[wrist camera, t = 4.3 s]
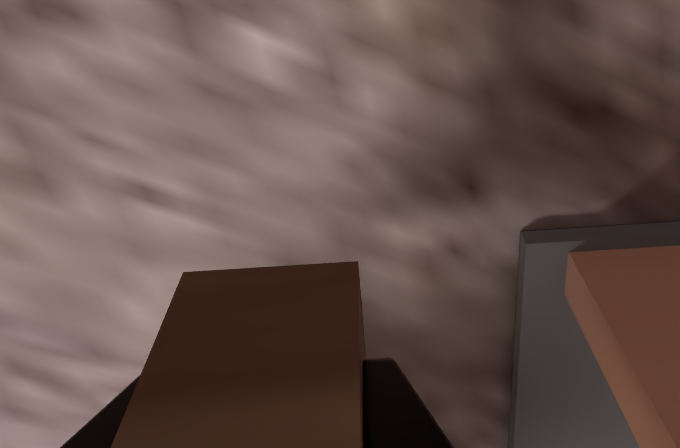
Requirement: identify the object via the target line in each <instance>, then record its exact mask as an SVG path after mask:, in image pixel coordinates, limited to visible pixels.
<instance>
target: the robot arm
mask: <svg viewBox="0 0 680 448" xmlns="http://www.w3.org/2000/svg"><path fill="white" fill-rule="evenodd" d="M140 376H141V375H140ZM140 376H139V377H137V378H136V379H135V380H134V381H133V382H132V383H131V384H130V385H129V386H128V387H126V388H125V389H124V390H123V391H122V392H121V393H120V394H119V395H118V396H117V397H115V398H114V399H113V400H112V401H111V402H110V403H109V404H108V405H107V406H105V407H104V408H103V409H102V410H101V411H100V412H99V413H98V414H97V415H96V416H94V417H93V418H92V419H91V420H90V421H89V422H88V423H87V424H86V425H85V426H83V427H82V428H81V429H80V430H79V431H78V432H77V433H76V434H75V435H74V436H72V437H71V438H70V439H69V440H68V441H67V442H66V443H65V444H64V445H63V446H61V447H60V448H111V446H112V443H113V441H114V438H115V436H116V434H117V431H118V429H119V426H120V424H121V421H122V419H123V417H124V414H125V412H126V409H127V407H128V405H129V402H130V400H131V397H132V395H133V392H134V390H135V388H136V385H137V383H138V380H139V378H140ZM363 446H364V448H454V447H453V446H452V444H451V443H450V441H449V440H448V439H447V437H446V436H445V434H444V433H443V431H442V430H441V428H440V427H439V425H438V424H437V422H436V421H435V419H434V418H433V416H432V415H431V413H430V412H429V411H428V409H427V408H426V406H425V405H424V403H423V402H422V400H421V399H420V397H419V396H418V394H417V393H416V391H415V390H414V388H413V387H412V385H411V384H410V382H409V381H408V380H407V378H406V377H405V375H404V374H403V372H402V371H401V369H400V368H399V366H398V365H397V363H396V362H395V361H394V360H393V359H391V358H378V359H365V360H363Z"/></svg>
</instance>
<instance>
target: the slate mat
mask: <svg viewBox="0 0 680 448" xmlns="http://www.w3.org/2000/svg"><path fill="white" fill-rule="evenodd" d="M678 245H680V221H676V222H660V223H645V224H629V225H614V226H598V227H582V228H567V229H551V230H536V231H520V247H519V265H518V282H517V300H516V318H515V336H514V354H513V372H512V389H511V407H510V425H509V443H508V448H640V447H639V445H638V443H637V441H636V439H635V437H634V435H633V433H632V431H631V429H630V427H629V425H628V422H627V420H626V418H625V416H624V414H623V412H622V410H621V408H620V406H619V404H618V402H617V400H616V398H615V396H614V394H613V392H612V390H611V388H610V386H609V384H608V382H607V380H606V378H605V376H604V374H603V372H602V370H601V368H600V366H599V364H598V362H597V360H596V358H595V356H594V353H593V351H592V349H591V347H590V345H589V343H588V341H587V339H586V337H585V335H584V333H583V331H582V329H581V327H580V325H579V323H578V321H577V319H576V317H575V315H574V313H573V311H572V309H571V307H570V305H569V303H568V301H567V299H566V297H565V295H564V292H565V282H566V271H567V261H568V252H582V251H598V250H614V249H630V248H646V247H662V246H678Z"/></svg>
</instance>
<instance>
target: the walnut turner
mask: <svg viewBox="0 0 680 448" xmlns="http://www.w3.org/2000/svg"><path fill="white" fill-rule="evenodd" d="M365 359H366V351H365V339H364V327H363V315H362V303H361V291H360V279H359V267H358V261H357V262H340V263H324V264H308V265H292V266H276V267H260V268H244V269H227V270H211V271H195V272H183V274H182V277H181V279H180V281H179V284H178V286H177V289H176V291H175V293H174V296H173V298H172V301H171V303H170V306H169V308H168V310H167V313H166V315H165V318H164V320H163V322H162V325H161V327H160V330H159V332H158V335H157V337H156V339H155V342H154V344H153V347H152V349H151V351H150V354H149V356H148V359H147V361H146V364H145V366H144V368H143V371H142V373H141V376H140V378H139V380H138V383H137V385H136V388H135V390H134V392H133V395H132V397H131V400H130V402H129V405H128V407H127V409H126V412H125V414H124V417H123V419H122V421H121V424H120V426H119V429H118V431H117V434H116V436H115V438H114V441H113V443H112V446H111V448H364V446H363V360H365Z"/></svg>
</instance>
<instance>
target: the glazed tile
mask: <svg viewBox="0 0 680 448" xmlns="http://www.w3.org/2000/svg"><path fill="white" fill-rule="evenodd" d="M564 295H565V297H566V299H567V301H568V303H569V305H570V307H571V309H572V311H573V313H574V315H575V317H576V319H577V321H578V323H579V325H580V327H581V329H582V331H583V333H584V335H585V337H586V339H587V341H588V343H589V345H590V347H591V349H592V351H593V353H594V356H595V358H596V360H597V362H598V364H599V366H600V368H601V370H602V372H603V374H604V376H605V378H606V380H607V382H608V384H609V386H610V388H611V390H612V392H613V394H614V396H615V398H616V400H617V402H618V404H619V406H620V408H621V410H622V412H623V414H624V416H625V418H626V420H627V422H628V425H629V427H630V429H631V431H632V433H633V435H634V437H635V439H636V441H637V443H638V445H639V447H640V448H680V245H678V246H662V247H646V248H630V249H614V250H598V251H582V252H568V261H567V271H566V282H565V292H564Z"/></svg>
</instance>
